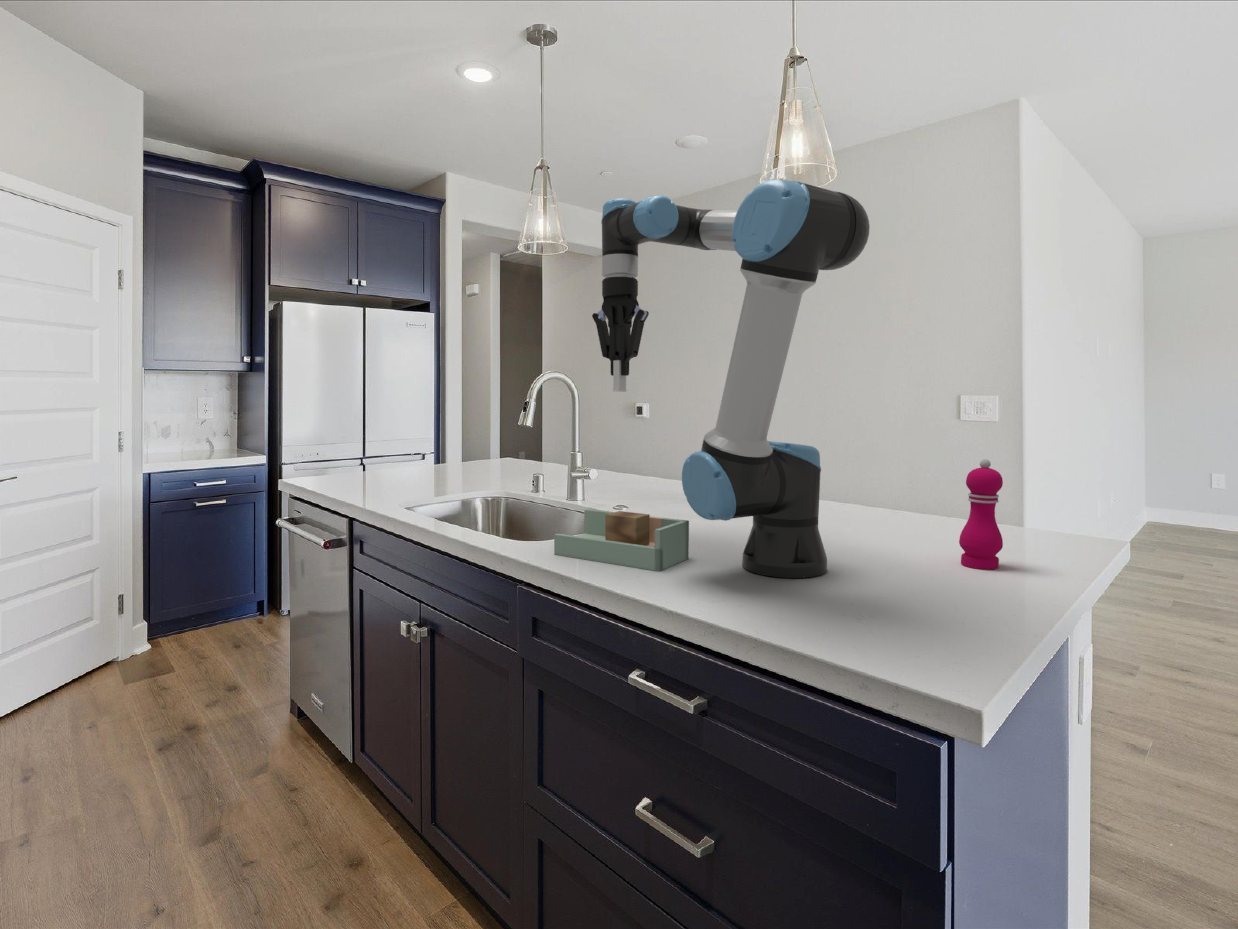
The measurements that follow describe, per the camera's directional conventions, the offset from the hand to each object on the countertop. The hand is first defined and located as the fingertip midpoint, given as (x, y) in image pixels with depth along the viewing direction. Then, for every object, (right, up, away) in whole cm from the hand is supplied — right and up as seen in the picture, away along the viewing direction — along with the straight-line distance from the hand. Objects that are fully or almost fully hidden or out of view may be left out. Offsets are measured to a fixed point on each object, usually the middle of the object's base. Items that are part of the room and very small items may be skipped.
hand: (619, 391), depth 145 cm
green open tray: (0, -34, -11) cm, 35 cm away
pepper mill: (+67, -35, -18) cm, 78 cm away
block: (+1, -31, -12) cm, 34 cm away
